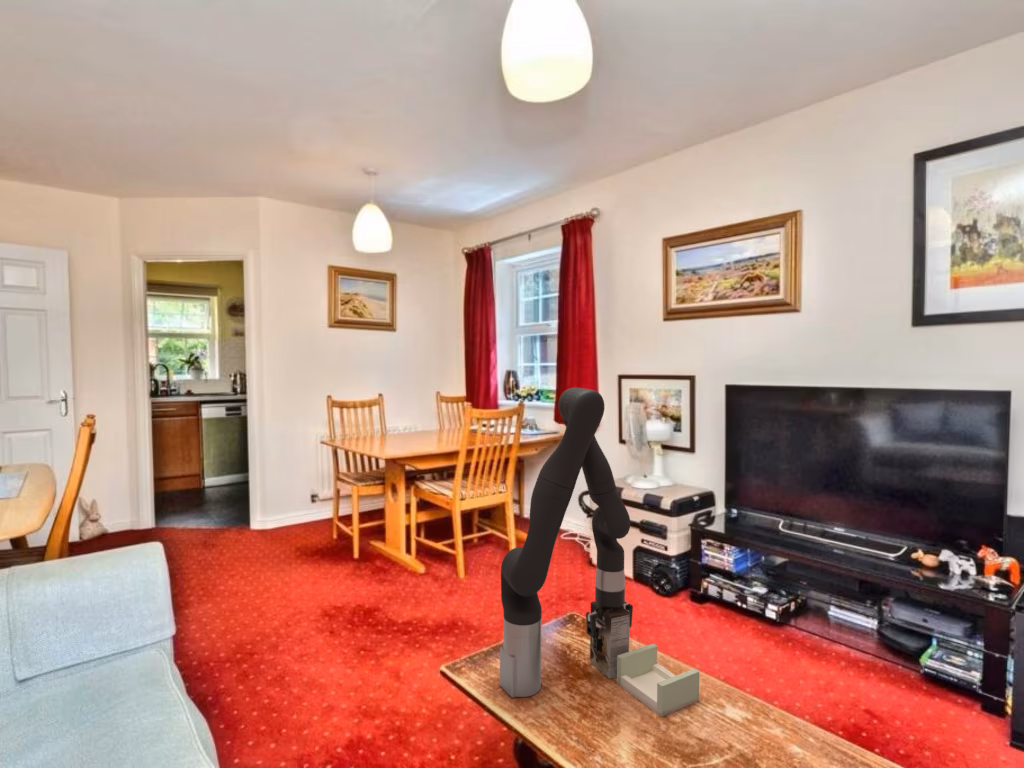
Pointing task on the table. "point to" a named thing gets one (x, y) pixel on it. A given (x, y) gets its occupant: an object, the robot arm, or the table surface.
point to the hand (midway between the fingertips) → (609, 647)
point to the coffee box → (611, 639)
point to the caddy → (656, 681)
